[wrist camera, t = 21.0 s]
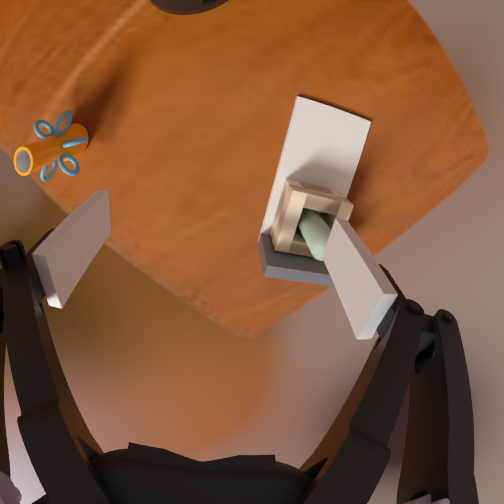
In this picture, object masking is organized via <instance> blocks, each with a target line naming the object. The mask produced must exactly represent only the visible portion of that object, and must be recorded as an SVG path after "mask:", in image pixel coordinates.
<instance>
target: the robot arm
mask: <svg viewBox="0 0 504 504" xmlns="http://www.w3.org/2000/svg"><path fill="white" fill-rule="evenodd" d="M150 1H151V3H152V4H153V5H154V6H156V7H157V8H159V9H160V10H162V11H165V12H168V13H172V14H178V15H189V14H197V13H202V12H205V11H208V10H211V9H214V8H216V7H218V6H220V5H221V4H223V3H225V2H226V1H227V0H150ZM110 234H111V227H110V215H109V199H108V191H107V190H96V191H95V192H94V193H93V194H91V195H90V196H89V197H88V198H87V199H86V200H85V201H84V202H83V203H81V204H80V205H79V206H78V207H77V208H76V209H75V210H74V211H73V212H72V213H71V214H70V215H69V216H68V217H67V218H66V219H65V220H63V222H61V223H60V224H59V225H58V226H57V227H56V228H54V229H51V230H50V231H48V232H47V233H46V234H45V235H44V236H43V237H42V238H41V239H40V240H39V241H38V242H37V244H35V245H34V246H33V247H32V248H31V249H30V251H29V252H28V253H27V254H25V251H24V247H23V244H22V242H21V241H20V240H12V241H9V242H7V243H5V244H3V245H2V246H1V247H0V263H1V266H2V269H0V504H20V503H19V502H20V501H21V493H20V491H19V490H18V488H16V487H15V486H14V484H13V482H12V481H11V479H10V461H9V454H8V445H7V437H6V427H5V414H4V364H5V351H6V341H7V348H8V355H9V361H10V367H11V372H12V377H13V381H14V386H15V390H16V394H17V398H18V402H19V405H20V409H21V416H20V417H18V420H17V422H18V427H19V430H20V433H21V436H22V439H23V442H24V445H25V447H26V450H27V453H28V455H29V458H30V460H31V463H32V465H33V467H34V469H35V472H36V474H37V476H38V478H39V480H40V482H41V484H42V486H43V488H44V490H45V492H46V495H44V496H42V497H41V498H40V499H38V500H37V501H35V502H34V503H32V504H367V503H368V501H369V499H370V498H371V496H372V494H373V492H374V490H375V488H376V486H377V484H378V482H379V480H380V478H381V476H382V474H383V472H384V470H385V468H386V465H387V463H388V461H389V458H390V455H391V449H389V448H388V447H387V444H388V441H389V438H390V436H391V434H392V431H393V429H394V426H395V423H396V421H397V418H398V415H399V412H400V409H401V407H402V403H403V401H404V398H405V395H406V391H407V388H408V385H410V386H409V408H408V421H407V431H406V440H405V448H404V455H403V462H402V468H401V473H400V479H399V485H398V491H397V504H479V502H478V495H477V488H476V482H475V477H474V424H473V410H472V400H471V392H470V384H469V377H468V371H467V365H466V360H465V354H464V349H463V345H462V340H461V336H460V332H459V328H458V324H457V321H456V319H455V317H454V316H453V315H452V314H451V313H450V312H449V311H446V310H443V309H440V310H438V311H437V313H436V314H435V315H434V316H430V315H427V314H425V313H424V310H423V308H422V307H421V306H420V305H419V304H418V303H416V302H415V301H413V300H410V299H406V298H405V297H404V295H403V293H402V292H401V290H400V289H399V287H398V286H397V284H395V281H394V280H393V278H392V277H391V275H390V274H389V272H388V271H387V270H386V269H385V268H384V267H383V266H382V265H381V264H378V263H377V262H376V260H375V259H374V257H373V256H372V254H371V253H370V251H369V250H368V249H367V247H366V246H365V244H364V243H363V241H362V240H361V239H360V237H359V236H358V235H357V233H356V232H355V230H354V229H353V228H352V226H351V225H350V224H349V222H348V221H347V220H343V219H338V218H335V221H334V224H333V227H332V230H331V233H330V236H329V239H328V242H327V245H326V248H325V250H324V253H323V256H322V258H323V260H324V263H325V265H326V267H327V269H328V272H329V274H330V276H331V278H332V281H333V283H334V285H335V288H336V290H337V292H338V294H339V297H340V299H341V302H342V304H343V306H344V309H345V311H346V314H347V316H348V318H349V321H350V323H351V326H352V329H353V331H354V334H355V336H356V339H371V337H372V336H373V334H374V333H375V331H376V330H377V332H378V334H379V337H378V339H377V340H376V342H375V343H374V345H373V346H372V348H371V349H370V350H369V352H370V355H369V357H368V360H367V362H366V363H365V365H364V367H363V370H362V371H361V374H360V375H359V377H358V379H357V381H356V383H355V385H354V387H353V389H352V391H351V393H350V394H349V396H348V398H347V400H346V402H345V404H344V405H343V407H342V409H341V410H340V412H339V414H338V415H337V417H336V419H335V421H334V422H333V424H332V425H331V427H330V429H329V430H328V432H327V433H326V435H325V436H324V438H323V440H322V441H321V442H320V444H319V445H318V447H317V448H316V450H315V451H314V453H313V454H312V455H311V456H310V457H309V458H308V459H307V460H306V461H305V463H304V464H303V465H302V466H301V467H300V468H299V469H297V468H295V467H293V466H291V465H288V464H285V463H281V462H277V461H275V455H238V456H233V457H228V458H223V459H217V460H211V461H205V462H201V461H196V460H193V459H190V458H187V457H184V456H182V455H179V454H176V453H173V452H170V451H168V450H165V449H162V448H156V447H150V446H145V445H139V444H135V443H130V442H129V446H128V449H119V450H114V451H110V452H107V453H103V451H102V449H101V448H100V446H99V445H98V443H97V442H96V441H95V439H94V438H93V436H92V435H91V433H90V431H89V429H88V428H87V426H86V424H85V422H84V419H83V417H82V415H81V413H80V411H79V409H78V407H77V405H76V402H75V400H74V398H73V395H72V393H71V391H70V388H69V386H68V383H67V381H66V378H65V375H64V373H63V370H62V367H61V364H60V362H59V359H58V356H57V353H56V350H55V347H54V343H53V340H52V336H51V333H50V329H49V326H48V322H47V318H46V314H45V310H44V306H43V304H42V300H43V298H44V297H45V296H46V298H47V301H48V304H49V305H50V306H54V307H58V308H63V306H64V304H65V303H66V301H67V299H68V298H69V296H70V294H71V292H72V291H73V289H74V287H75V286H76V284H77V283H78V281H79V279H80V278H81V276H82V275H83V273H84V272H85V270H86V268H87V267H88V265H89V264H90V262H91V261H92V259H93V258H94V256H95V255H96V254H97V252H98V250H99V249H100V248H101V246H102V245H103V243H104V242H105V241H106V239H107V238H108V236H109V235H110ZM409 381H410V383H409Z"/></svg>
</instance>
